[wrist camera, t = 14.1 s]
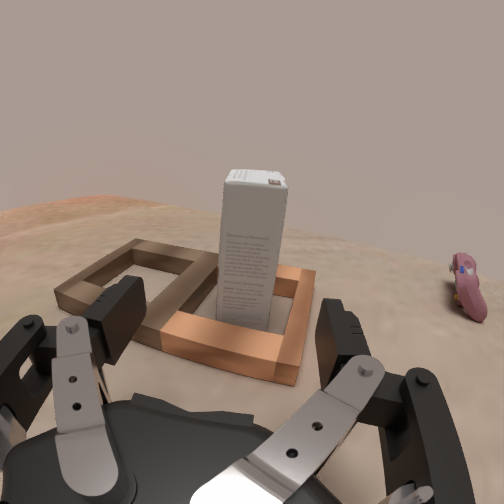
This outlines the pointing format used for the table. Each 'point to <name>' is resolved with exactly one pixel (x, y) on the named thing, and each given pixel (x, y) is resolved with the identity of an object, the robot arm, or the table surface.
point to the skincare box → (249, 246)
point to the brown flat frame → (195, 327)
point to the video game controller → (468, 286)
